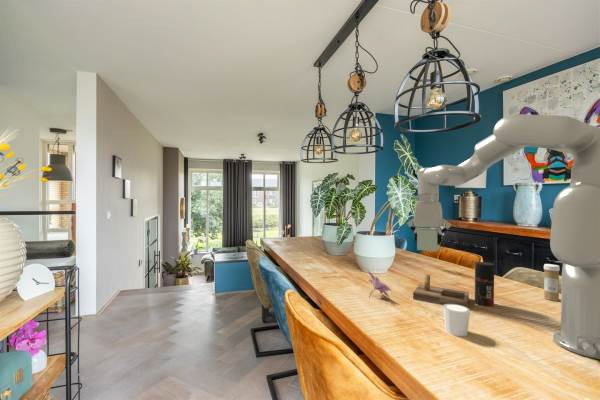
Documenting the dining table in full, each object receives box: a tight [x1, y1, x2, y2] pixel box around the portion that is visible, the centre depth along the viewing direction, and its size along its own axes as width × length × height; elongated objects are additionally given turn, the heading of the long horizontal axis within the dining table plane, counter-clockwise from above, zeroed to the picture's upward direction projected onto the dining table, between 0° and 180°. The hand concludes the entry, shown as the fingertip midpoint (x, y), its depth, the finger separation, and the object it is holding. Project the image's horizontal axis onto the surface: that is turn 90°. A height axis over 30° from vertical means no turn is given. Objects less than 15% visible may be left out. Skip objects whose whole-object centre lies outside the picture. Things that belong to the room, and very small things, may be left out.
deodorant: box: [474, 261, 495, 308], centre depth 103 cm, size 6×6×15 cm
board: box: [412, 273, 470, 309], centre depth 109 cm, size 13×18×8 cm
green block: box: [416, 227, 440, 253], centre depth 111 cm, size 7×7×8 cm
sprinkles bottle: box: [543, 263, 561, 302], centre depth 109 cm, size 5×5×14 cm
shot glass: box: [442, 304, 471, 337], centre depth 81 cm, size 7×7×7 cm
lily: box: [366, 269, 392, 299], centre depth 110 cm, size 12×12×10 cm
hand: (428, 243), depth 111 cm, fingers closed on green block, 7 cm apart
